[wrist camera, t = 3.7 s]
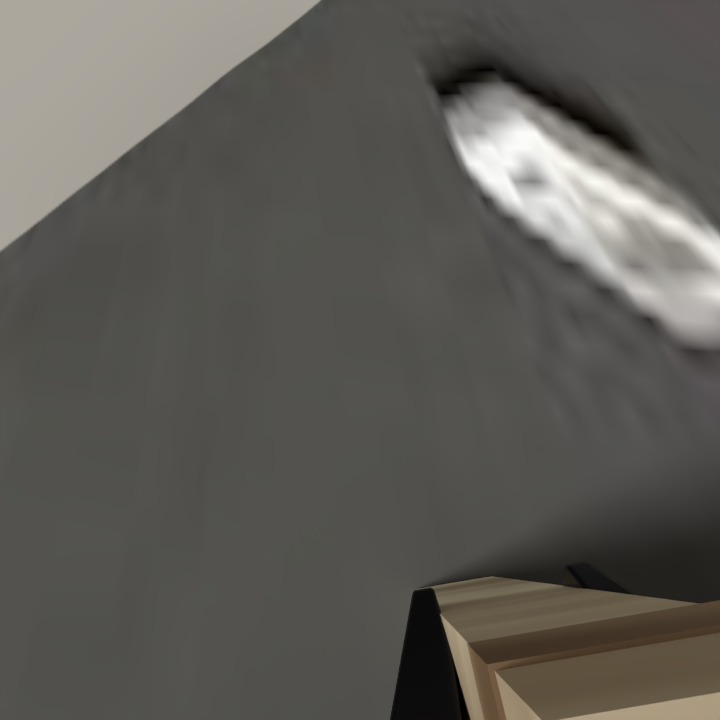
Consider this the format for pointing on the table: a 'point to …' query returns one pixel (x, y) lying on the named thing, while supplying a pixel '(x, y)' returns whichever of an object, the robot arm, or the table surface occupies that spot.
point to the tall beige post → (579, 653)
